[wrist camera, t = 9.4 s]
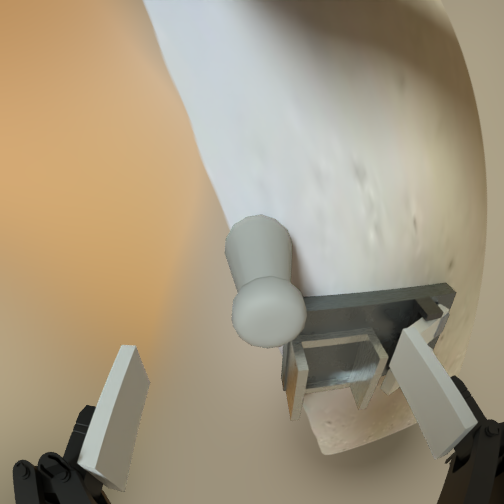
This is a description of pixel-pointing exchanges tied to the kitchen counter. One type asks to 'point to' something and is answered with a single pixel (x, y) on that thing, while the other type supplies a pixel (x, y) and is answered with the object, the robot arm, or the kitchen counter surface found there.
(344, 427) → the kitchen counter surface
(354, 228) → the kitchen counter surface
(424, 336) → the rocker
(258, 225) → the salt shaker
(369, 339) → the grey mechanical fixture
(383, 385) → the rocker
